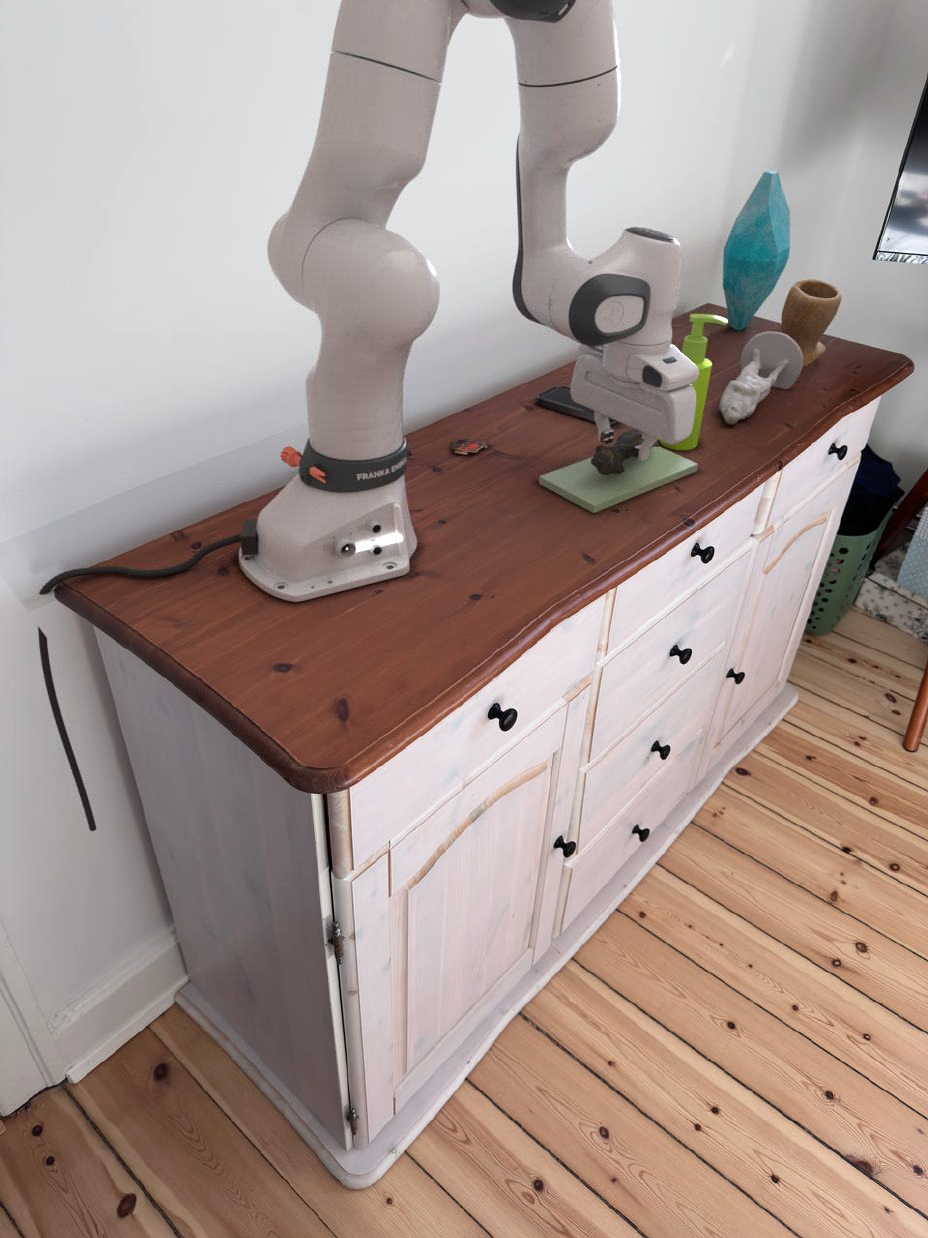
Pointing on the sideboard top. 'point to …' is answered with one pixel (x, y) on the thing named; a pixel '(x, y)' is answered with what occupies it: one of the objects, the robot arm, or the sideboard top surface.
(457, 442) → the matchbox
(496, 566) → the sideboard top surface
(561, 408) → the phone
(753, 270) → the crystal
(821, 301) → the stone cup
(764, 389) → the male figure
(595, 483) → the board
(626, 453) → the statue
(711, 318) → the soap dispenser
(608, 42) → the robot arm
